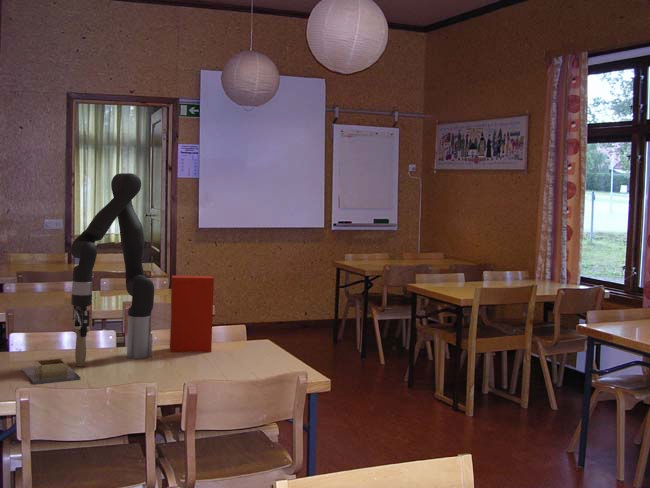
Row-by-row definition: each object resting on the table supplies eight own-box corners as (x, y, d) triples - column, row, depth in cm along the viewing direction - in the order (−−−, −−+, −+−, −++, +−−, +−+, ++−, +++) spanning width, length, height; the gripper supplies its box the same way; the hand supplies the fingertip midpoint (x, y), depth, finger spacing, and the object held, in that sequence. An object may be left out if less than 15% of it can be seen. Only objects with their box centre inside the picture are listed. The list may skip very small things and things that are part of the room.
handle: (88, 367, 281) (89, 328, 280) (70, 367, 280) (71, 328, 278) (89, 364, 285) (90, 326, 284) (72, 364, 284) (73, 326, 283)
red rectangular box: (169, 348, 319) (171, 275, 316) (209, 347, 323) (212, 275, 320) (170, 352, 311) (172, 277, 308) (211, 352, 315) (213, 278, 312)
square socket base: (66, 366, 281) (66, 354, 280) (80, 379, 264) (80, 366, 264) (22, 370, 272) (22, 357, 271) (33, 384, 255) (33, 370, 255)
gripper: (97, 295, 276) (95, 337, 278) (86, 289, 288) (85, 330, 289) (76, 295, 272) (75, 338, 273) (67, 290, 284) (65, 331, 285)
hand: (80, 334), depth 281 cm, fingers open, 8 cm apart
